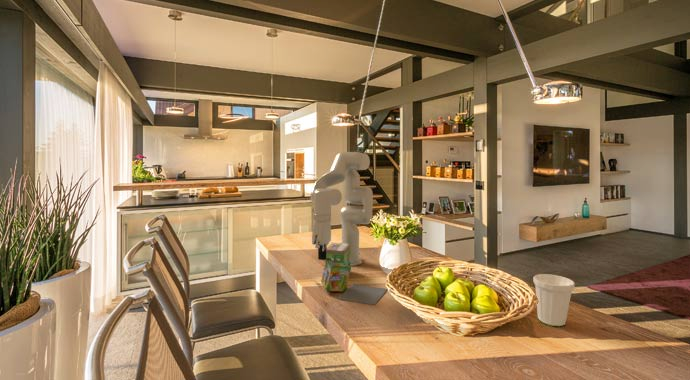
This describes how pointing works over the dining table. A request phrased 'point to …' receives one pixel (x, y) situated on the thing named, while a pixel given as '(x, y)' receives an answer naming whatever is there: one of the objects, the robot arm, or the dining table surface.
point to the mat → (363, 294)
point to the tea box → (339, 251)
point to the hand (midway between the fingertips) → (322, 259)
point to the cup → (553, 298)
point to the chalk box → (336, 274)
